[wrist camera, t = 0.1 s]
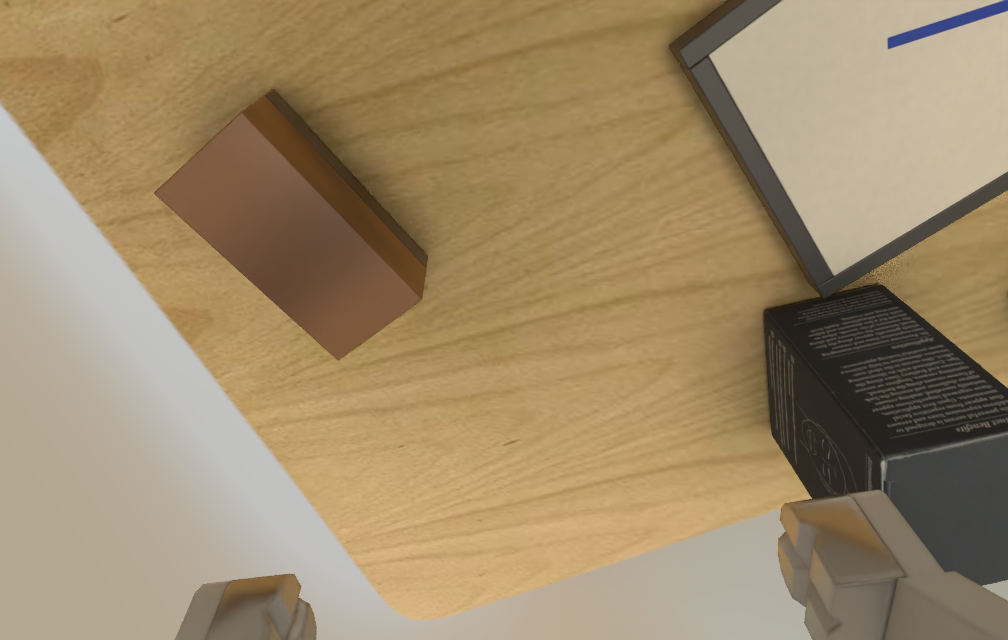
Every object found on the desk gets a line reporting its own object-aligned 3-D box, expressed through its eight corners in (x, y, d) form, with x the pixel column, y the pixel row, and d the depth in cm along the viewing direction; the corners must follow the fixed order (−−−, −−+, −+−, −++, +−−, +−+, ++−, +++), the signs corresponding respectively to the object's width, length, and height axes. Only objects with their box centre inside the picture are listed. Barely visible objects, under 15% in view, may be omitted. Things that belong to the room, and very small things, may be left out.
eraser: (195, 160, 26) (153, 193, 23) (273, 87, 25) (241, 111, 22) (353, 312, 30) (338, 361, 27) (428, 256, 29) (422, 300, 25)
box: (877, 409, 34) (1026, 581, 25) (768, 433, 35) (874, 610, 26) (884, 278, 30) (1062, 425, 21) (760, 307, 31) (882, 462, 22)
